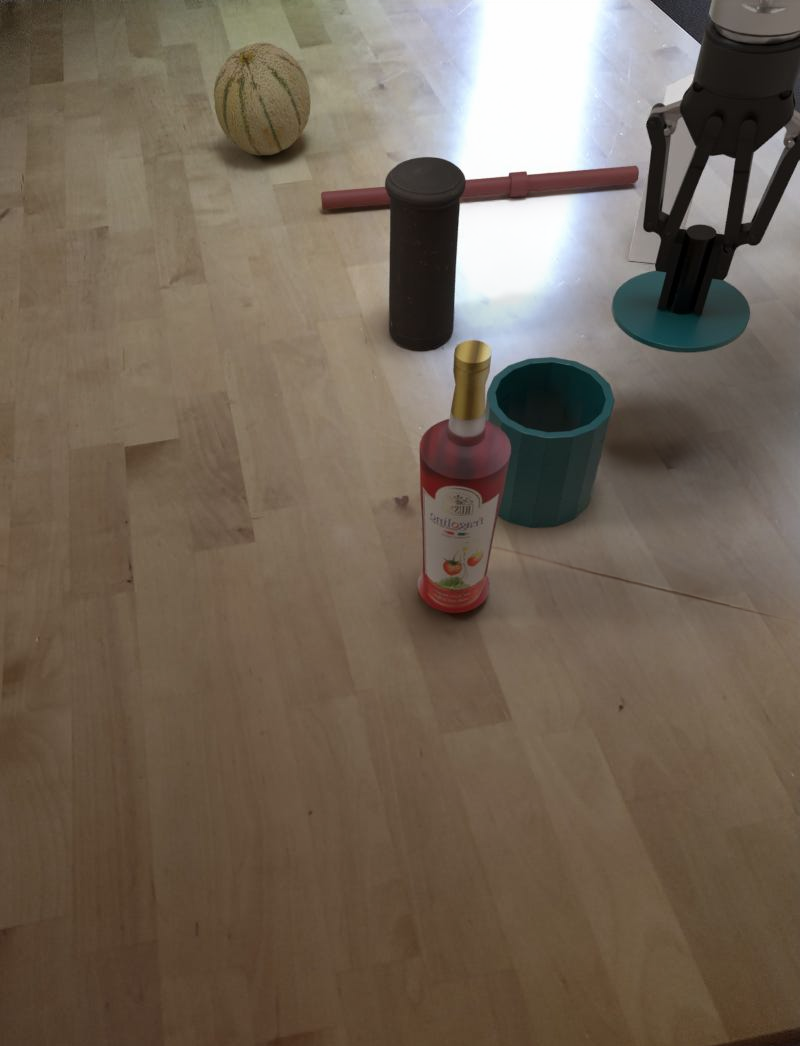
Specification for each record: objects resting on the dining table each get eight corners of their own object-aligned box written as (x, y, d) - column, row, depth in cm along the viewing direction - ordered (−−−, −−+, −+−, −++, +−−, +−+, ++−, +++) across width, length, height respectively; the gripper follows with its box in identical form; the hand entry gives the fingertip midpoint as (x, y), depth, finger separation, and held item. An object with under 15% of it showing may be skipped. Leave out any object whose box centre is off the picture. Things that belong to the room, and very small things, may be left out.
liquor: (494, 569, 89) (529, 325, 66) (486, 627, 85) (519, 388, 62) (421, 560, 90) (430, 317, 67) (409, 617, 86) (414, 379, 63)
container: (445, 304, 115) (454, 144, 99) (464, 346, 110) (476, 184, 93) (379, 315, 114) (377, 156, 98) (395, 358, 109) (395, 197, 93)
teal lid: (754, 290, 88) (784, 204, 81) (737, 368, 82) (768, 282, 74) (623, 271, 92) (642, 187, 85) (597, 345, 85) (615, 260, 78)
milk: (627, 261, 118) (666, 79, 100) (632, 236, 121) (671, 56, 103) (675, 266, 116) (724, 82, 98) (679, 240, 120) (727, 58, 102)
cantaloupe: (321, 127, 145) (314, 22, 133) (304, 174, 137) (296, 66, 125) (233, 126, 148) (218, 23, 135) (211, 172, 139) (194, 66, 127)
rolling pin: (631, 179, 129) (636, 157, 127) (636, 190, 128) (641, 168, 125) (321, 205, 131) (320, 184, 129) (322, 216, 129) (321, 195, 127)
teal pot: (600, 465, 96) (624, 369, 86) (576, 542, 90) (599, 448, 80) (495, 443, 99) (506, 348, 89) (465, 516, 93) (473, 422, 83)
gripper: (642, 36, 67) (590, 313, 86) (873, 53, 62) (763, 340, 81) (660, -4, 70) (606, 269, 89) (878, 9, 66) (772, 293, 85)
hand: (681, 303), depth 85 cm, fingers closed on teal lid, 3 cm apart
